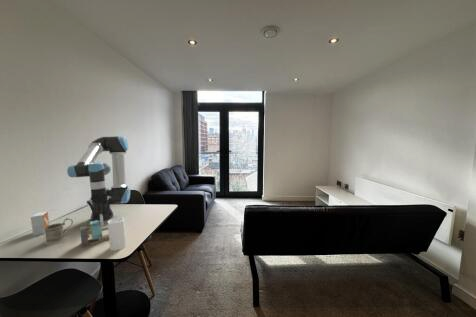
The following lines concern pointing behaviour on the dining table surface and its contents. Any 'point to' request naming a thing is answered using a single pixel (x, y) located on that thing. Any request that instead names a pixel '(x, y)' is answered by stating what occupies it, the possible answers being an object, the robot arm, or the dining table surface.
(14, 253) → the dining table surface
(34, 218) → the small box
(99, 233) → the sleeve
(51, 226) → the mug
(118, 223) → the cup
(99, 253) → the dining table surface
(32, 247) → the dining table surface
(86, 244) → the rail
